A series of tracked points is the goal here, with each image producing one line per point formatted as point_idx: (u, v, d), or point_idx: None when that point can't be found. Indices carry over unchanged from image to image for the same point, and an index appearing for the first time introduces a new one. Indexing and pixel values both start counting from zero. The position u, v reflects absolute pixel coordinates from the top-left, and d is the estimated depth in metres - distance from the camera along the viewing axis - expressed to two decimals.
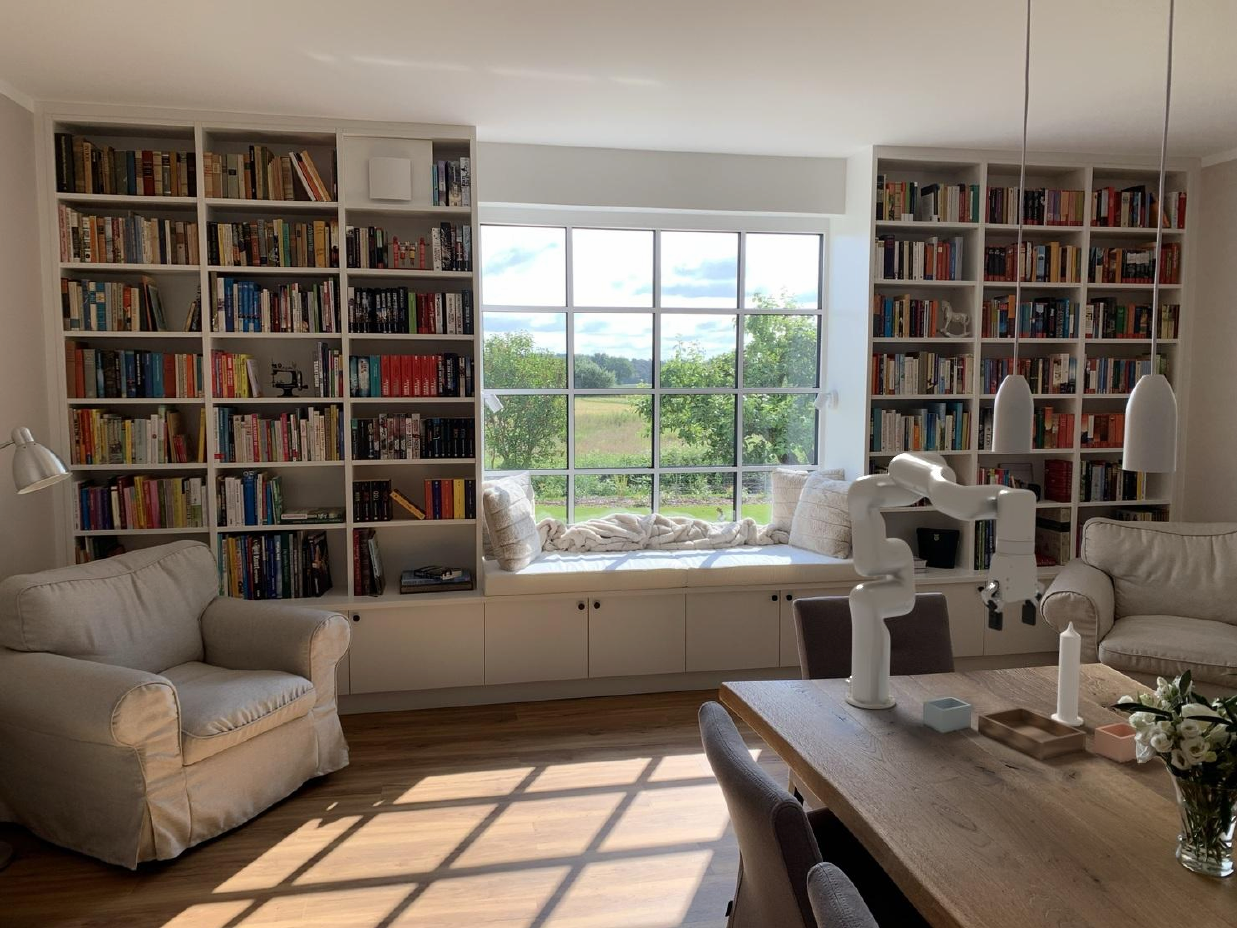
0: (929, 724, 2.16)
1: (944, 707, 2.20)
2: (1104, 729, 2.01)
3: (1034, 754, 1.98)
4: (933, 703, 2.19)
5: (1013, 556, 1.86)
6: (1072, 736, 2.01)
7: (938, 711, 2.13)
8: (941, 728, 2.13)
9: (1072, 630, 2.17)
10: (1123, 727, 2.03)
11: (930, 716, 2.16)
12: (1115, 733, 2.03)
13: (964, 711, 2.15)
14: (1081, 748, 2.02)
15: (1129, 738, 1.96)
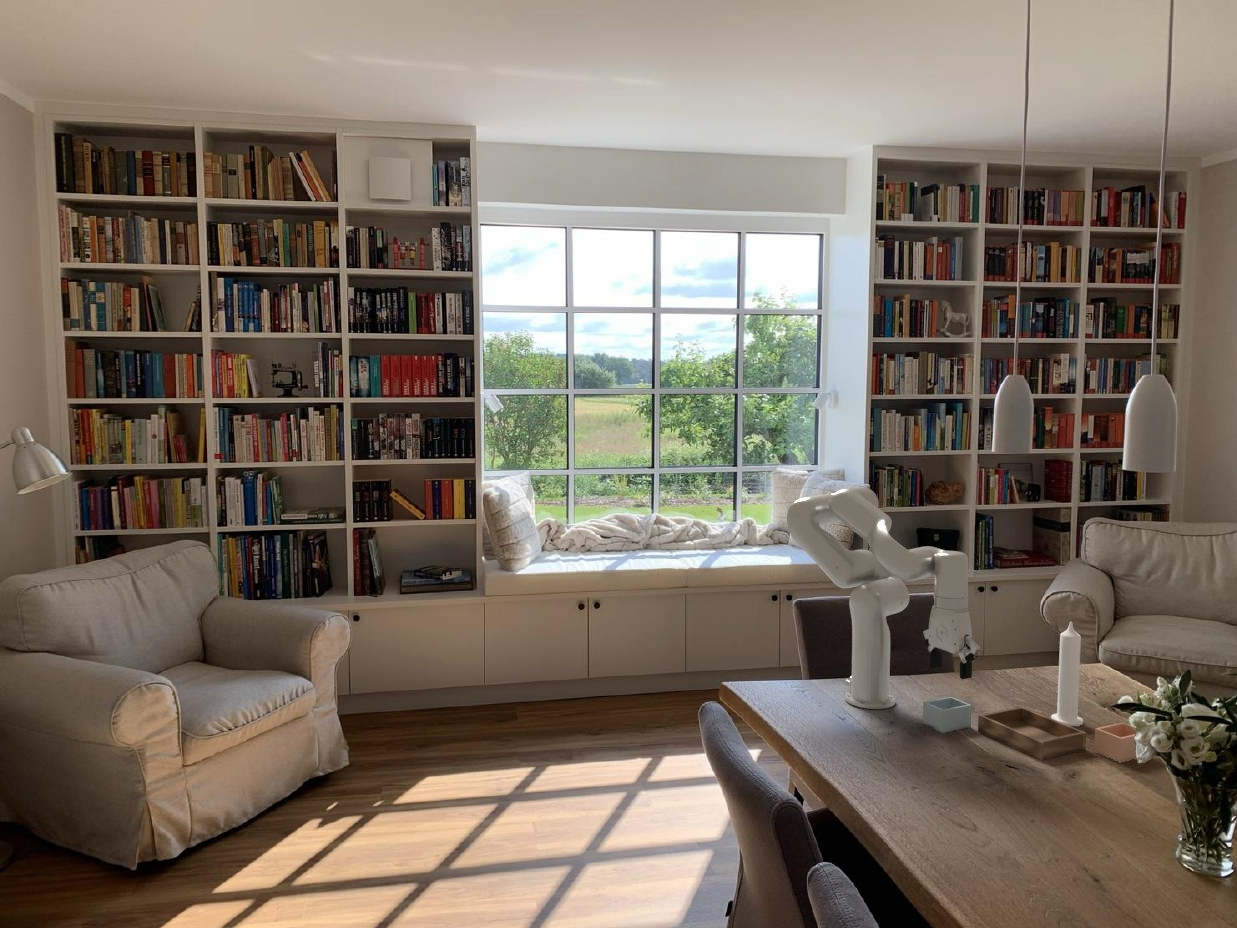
0: (929, 724, 2.16)
1: (944, 707, 2.20)
2: (1104, 729, 2.01)
3: (1034, 754, 1.98)
4: (933, 703, 2.19)
5: None
6: (1072, 736, 2.01)
7: (938, 711, 2.13)
8: (941, 728, 2.13)
9: (1072, 630, 2.17)
10: (1123, 727, 2.03)
11: (930, 716, 2.16)
12: (1115, 733, 2.03)
13: (964, 711, 2.15)
14: (1081, 748, 2.02)
15: (1129, 738, 1.96)
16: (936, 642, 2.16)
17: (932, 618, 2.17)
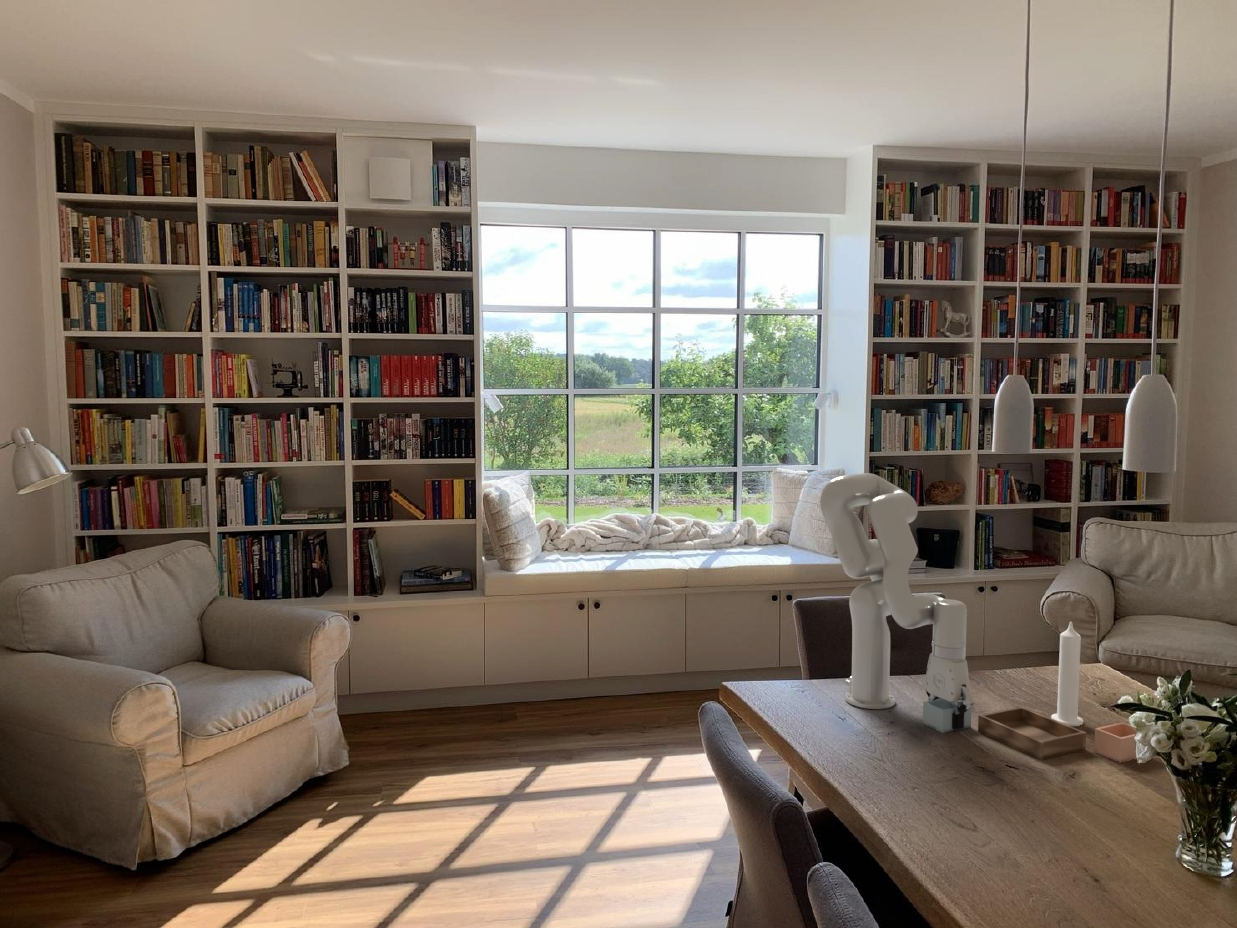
0: (929, 724, 2.16)
1: (944, 707, 2.20)
2: (1104, 729, 2.01)
3: (1034, 754, 1.98)
4: (933, 703, 2.19)
5: None
6: (1072, 736, 2.01)
7: (938, 711, 2.13)
8: (941, 728, 2.13)
9: (1072, 630, 2.17)
10: (1123, 727, 2.03)
11: (930, 716, 2.16)
12: (1115, 733, 2.03)
13: None
14: (1081, 748, 2.02)
15: (1129, 738, 1.96)
16: (933, 690, 2.17)
17: (930, 665, 2.18)
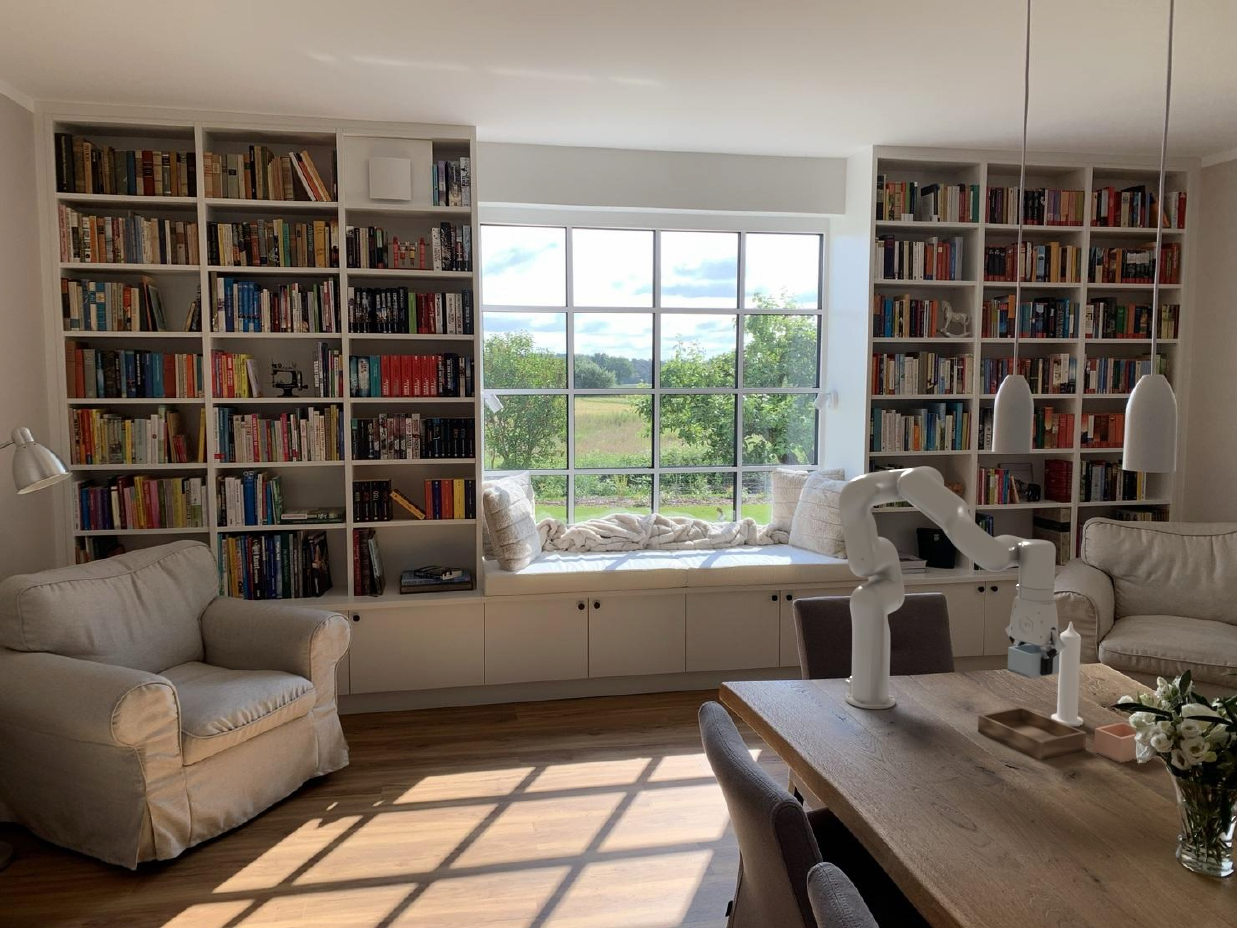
0: (1015, 670, 2.06)
1: (1029, 653, 2.09)
2: (1104, 729, 2.01)
3: (1034, 754, 1.98)
4: (1018, 649, 2.08)
5: None
6: (1072, 736, 2.01)
7: (1026, 656, 2.03)
8: (1029, 673, 2.02)
9: (1072, 630, 2.17)
10: (1123, 727, 2.03)
11: (1016, 662, 2.05)
12: (1115, 733, 2.03)
13: None
14: (1081, 748, 2.02)
15: (1129, 738, 1.96)
16: (1018, 635, 2.06)
17: (1015, 609, 2.07)
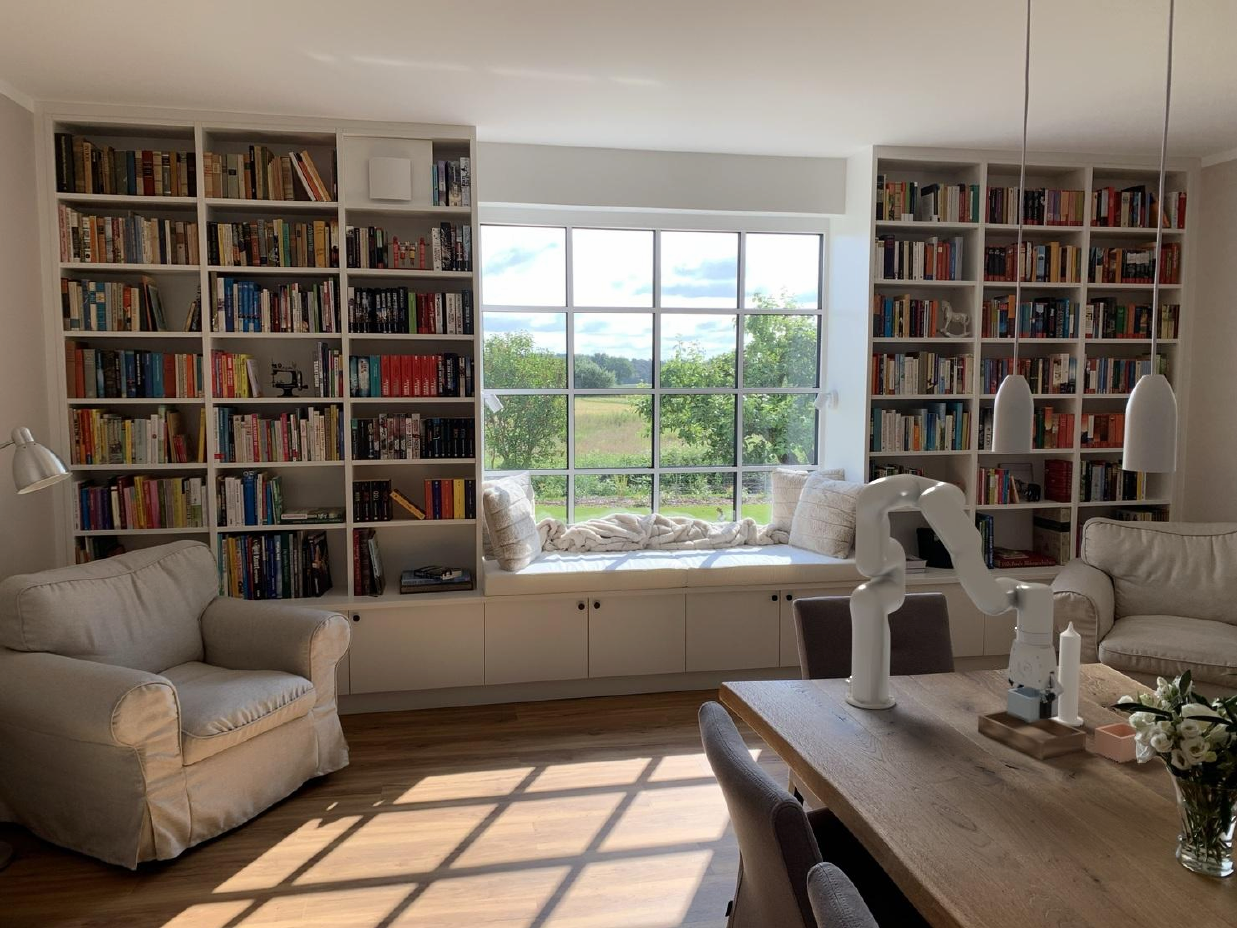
0: (1014, 713, 2.06)
1: (1028, 696, 2.10)
2: (1104, 729, 2.01)
3: (1034, 754, 1.98)
4: (1017, 691, 2.09)
5: None
6: (1072, 736, 2.01)
7: (1025, 700, 2.03)
8: (1028, 717, 2.03)
9: (1072, 630, 2.17)
10: (1123, 727, 2.03)
11: (1015, 705, 2.06)
12: (1115, 733, 2.03)
13: None
14: (1081, 748, 2.02)
15: (1129, 738, 1.96)
16: (1017, 678, 2.07)
17: (1014, 652, 2.08)
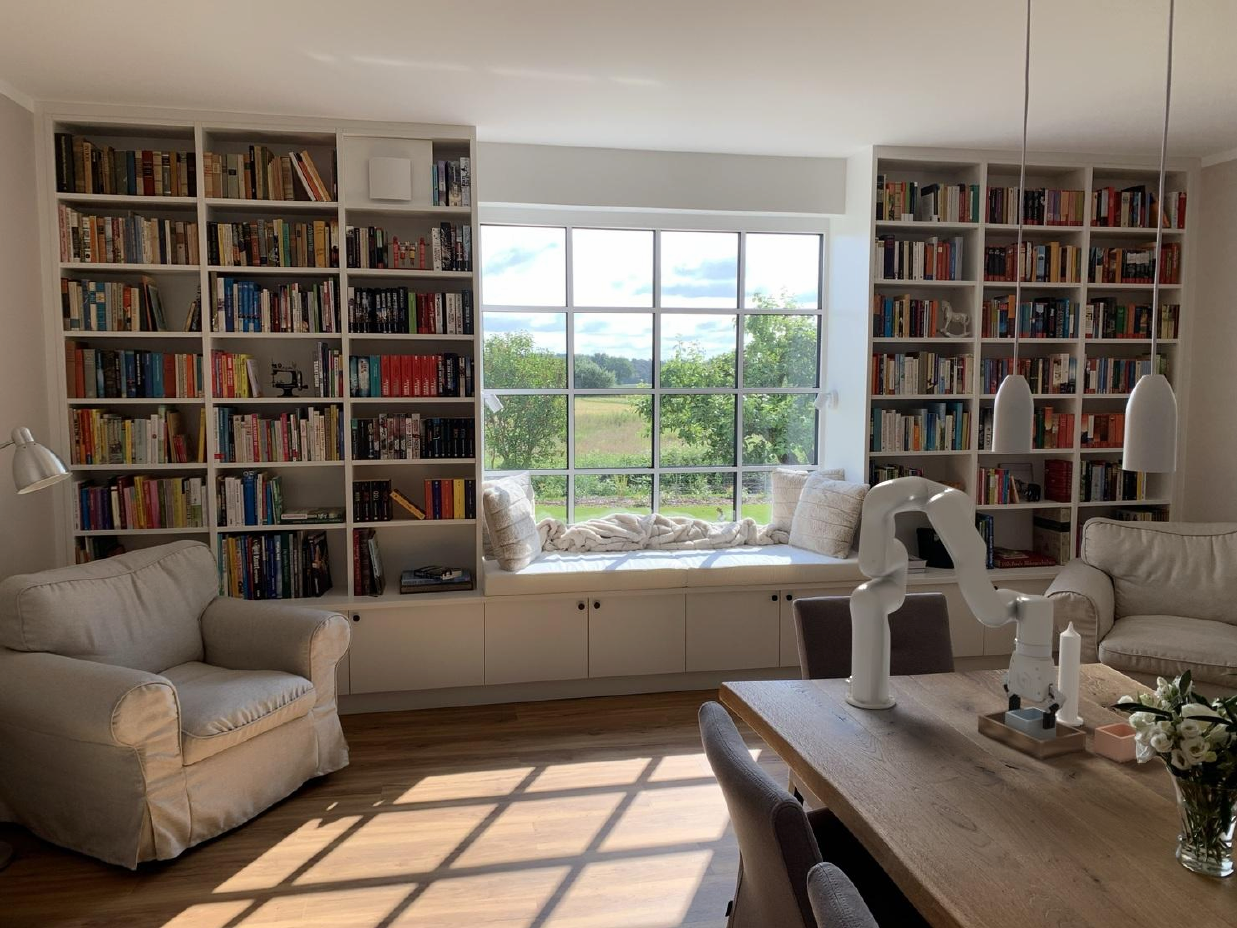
0: None
1: (1026, 718, 2.11)
2: (1104, 729, 2.01)
3: (1034, 754, 1.98)
4: (1015, 713, 2.09)
5: None
6: (1072, 736, 2.01)
7: (1023, 723, 2.04)
8: None
9: (1072, 630, 2.17)
10: (1123, 727, 2.03)
11: (1013, 727, 2.07)
12: (1115, 733, 2.03)
13: None
14: (1081, 748, 2.02)
15: (1129, 738, 1.96)
16: (1016, 689, 2.08)
17: (1013, 664, 2.08)
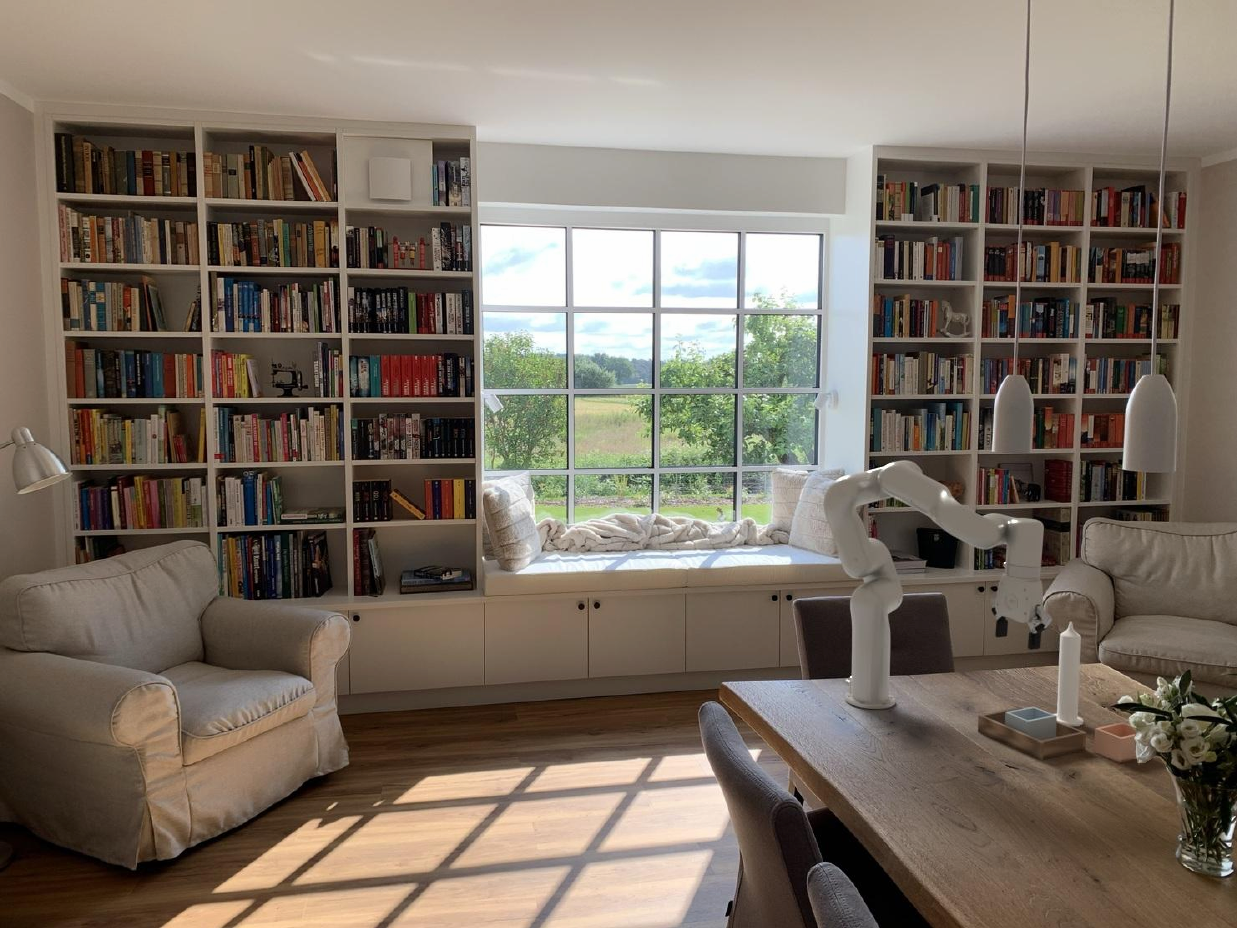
0: None
1: (1026, 718, 2.11)
2: (1104, 729, 2.01)
3: (1034, 754, 1.98)
4: (1015, 713, 2.09)
5: None
6: (1072, 736, 2.01)
7: (1023, 723, 2.04)
8: None
9: (1072, 630, 2.17)
10: (1123, 727, 2.03)
11: (1013, 727, 2.07)
12: (1115, 733, 2.03)
13: (1049, 722, 2.06)
14: (1081, 748, 2.02)
15: (1129, 738, 1.96)
16: (1004, 611, 2.10)
17: (1001, 586, 2.11)
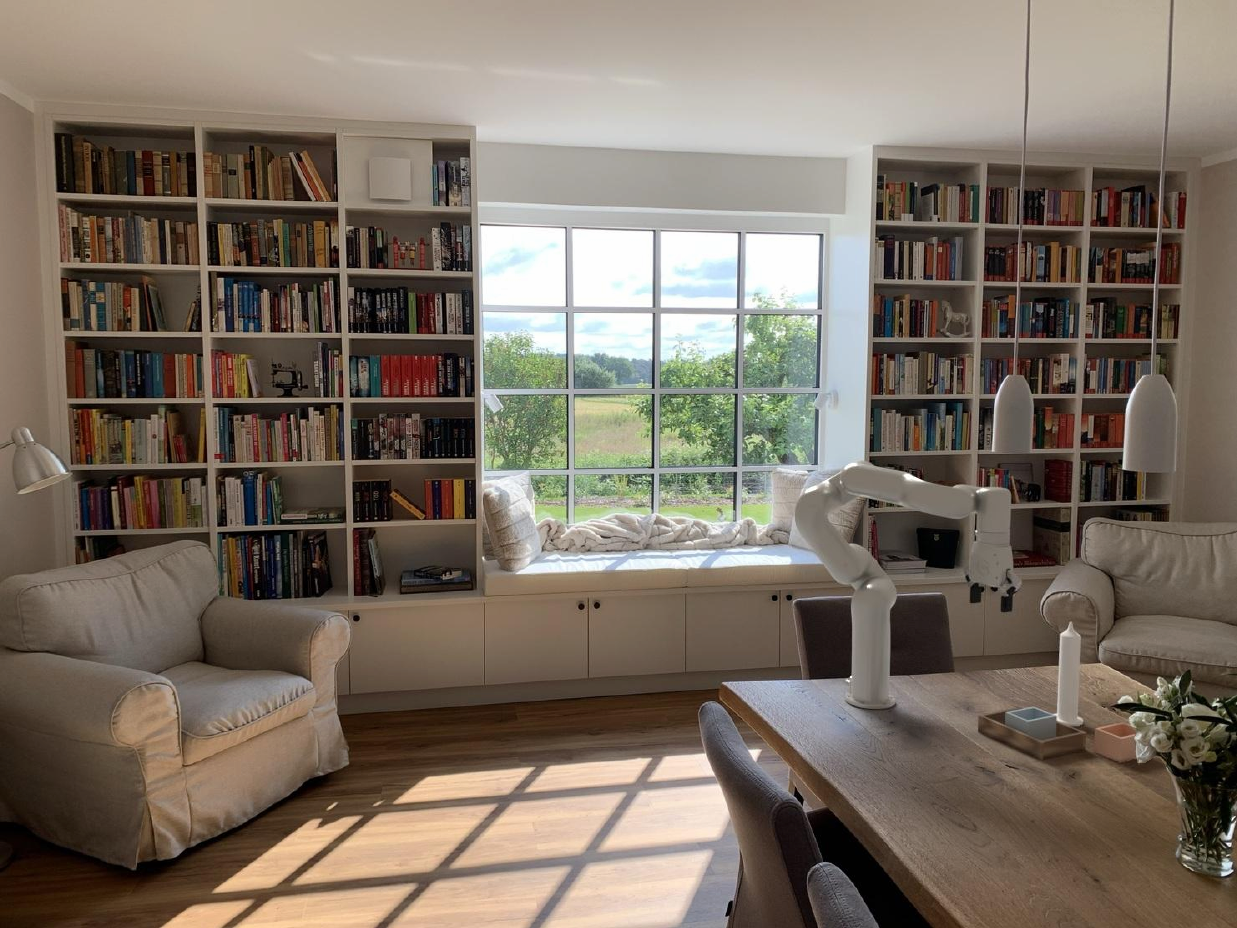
0: None
1: (1026, 718, 2.11)
2: (1104, 729, 2.01)
3: (1034, 754, 1.98)
4: (1015, 713, 2.09)
5: None
6: (1072, 736, 2.01)
7: (1023, 723, 2.04)
8: None
9: (1072, 630, 2.17)
10: (1123, 727, 2.03)
11: (1013, 727, 2.07)
12: (1115, 733, 2.03)
13: (1049, 722, 2.06)
14: (1081, 748, 2.02)
15: (1129, 738, 1.96)
16: (976, 577, 2.19)
17: (973, 553, 2.20)
